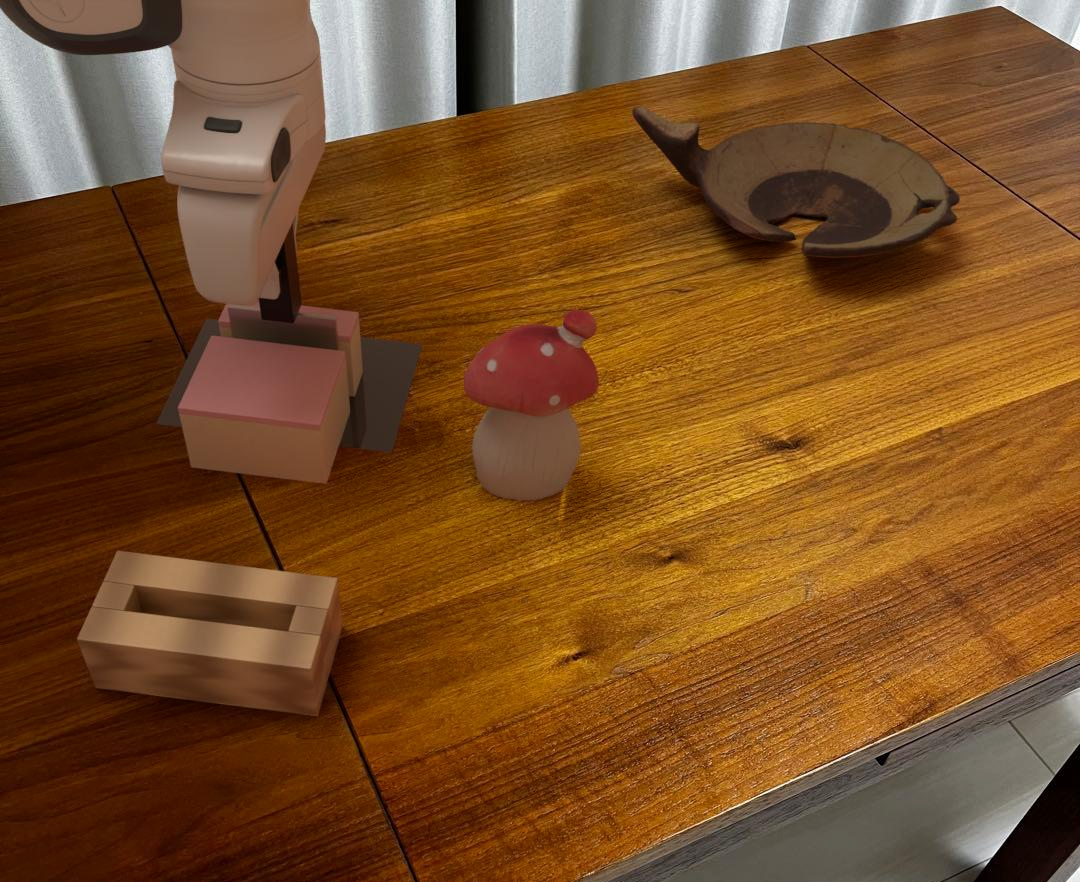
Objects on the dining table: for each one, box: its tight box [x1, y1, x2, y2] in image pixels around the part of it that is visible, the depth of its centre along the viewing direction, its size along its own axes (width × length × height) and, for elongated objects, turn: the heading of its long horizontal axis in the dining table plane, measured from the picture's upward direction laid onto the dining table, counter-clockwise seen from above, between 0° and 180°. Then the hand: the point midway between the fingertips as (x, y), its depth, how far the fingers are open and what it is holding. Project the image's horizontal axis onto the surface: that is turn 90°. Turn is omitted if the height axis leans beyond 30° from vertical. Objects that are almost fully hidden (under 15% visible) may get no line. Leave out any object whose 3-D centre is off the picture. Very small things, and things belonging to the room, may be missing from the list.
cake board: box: [155, 318, 423, 453], centre depth 92 cm, size 18×18×1 cm
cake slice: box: [217, 299, 363, 397], centre depth 92 cm, size 10×3×6 cm, turn 84°
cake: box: [178, 336, 350, 485], centre depth 87 cm, size 10×8×6 cm
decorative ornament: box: [463, 309, 600, 501], centre depth 84 cm, size 9×7×15 cm
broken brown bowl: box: [631, 105, 961, 259], centre depth 112 cm, size 22×30×8 cm
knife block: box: [76, 550, 344, 717], centre depth 74 cm, size 14×7×6 cm, turn 84°
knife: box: [228, 222, 339, 351], centre depth 87 cm, size 8×2×15 cm, turn 84°
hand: (276, 276), depth 85 cm, fingers closed on knife, 2 cm apart
